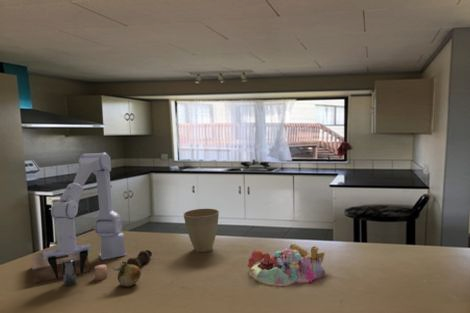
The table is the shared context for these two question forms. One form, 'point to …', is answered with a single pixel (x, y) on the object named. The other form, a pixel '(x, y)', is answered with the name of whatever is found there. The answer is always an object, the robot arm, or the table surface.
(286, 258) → the candy landscape model
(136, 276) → the onion
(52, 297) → the table surface
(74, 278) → the dark metallic cylinder
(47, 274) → the hole block
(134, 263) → the dark brown lumpy piece
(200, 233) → the plant pot
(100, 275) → the pinkish tan rounded piece
